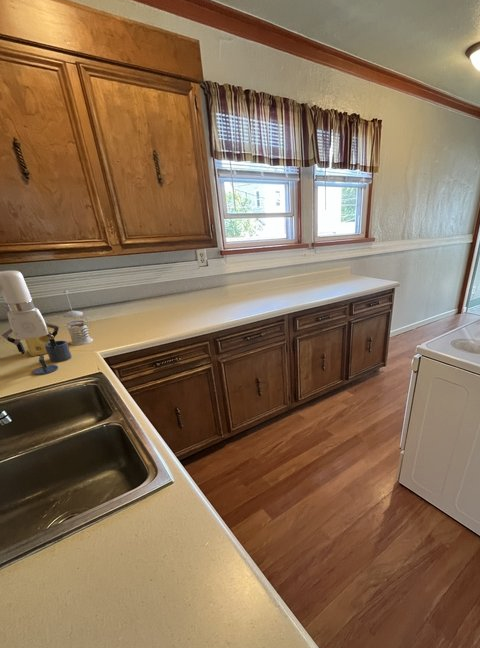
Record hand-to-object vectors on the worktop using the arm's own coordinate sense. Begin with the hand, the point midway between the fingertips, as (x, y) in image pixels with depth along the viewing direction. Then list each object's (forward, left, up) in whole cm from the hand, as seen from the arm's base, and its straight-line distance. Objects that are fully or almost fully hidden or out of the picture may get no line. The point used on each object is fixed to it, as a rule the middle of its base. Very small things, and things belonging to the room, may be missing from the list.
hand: (39, 350), depth 126 cm
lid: (0, 0, -8) cm, 8 cm away
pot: (+5, +11, -9) cm, 15 cm away
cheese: (-2, +28, -9) cm, 30 cm away
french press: (+14, +34, -9) cm, 38 cm away
